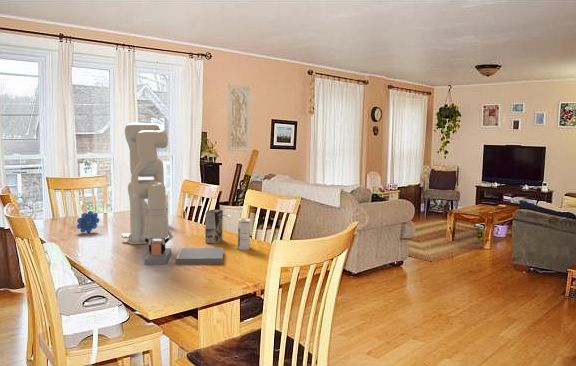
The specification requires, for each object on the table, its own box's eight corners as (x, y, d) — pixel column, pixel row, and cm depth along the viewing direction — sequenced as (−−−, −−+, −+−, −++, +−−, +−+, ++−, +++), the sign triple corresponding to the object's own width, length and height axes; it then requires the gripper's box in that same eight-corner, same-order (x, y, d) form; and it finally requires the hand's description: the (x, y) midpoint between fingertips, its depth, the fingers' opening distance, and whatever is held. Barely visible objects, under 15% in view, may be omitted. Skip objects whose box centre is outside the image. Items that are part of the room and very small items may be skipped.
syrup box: (238, 247, 230) (238, 218, 228) (250, 247, 231) (250, 218, 229) (237, 249, 224) (238, 220, 223) (250, 249, 225) (250, 220, 223)
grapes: (98, 230, 260) (98, 209, 259) (100, 232, 254) (100, 210, 253) (75, 232, 254) (75, 210, 253) (77, 234, 249) (76, 212, 247)
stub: (144, 264, 196) (144, 247, 196) (151, 253, 214) (151, 237, 213) (166, 264, 198) (165, 247, 197) (171, 253, 215) (171, 237, 215)
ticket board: (175, 264, 198) (175, 258, 198) (179, 253, 216) (179, 247, 216) (222, 263, 201) (222, 257, 200) (223, 252, 218) (223, 247, 218)
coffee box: (216, 243, 235) (217, 212, 234) (204, 242, 237) (205, 211, 235) (222, 239, 244) (223, 209, 242) (211, 238, 246) (211, 208, 244)
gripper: (135, 213, 199) (136, 255, 201) (175, 213, 201) (175, 255, 203) (138, 210, 206) (139, 251, 208) (177, 210, 208) (177, 250, 210)
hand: (157, 252), depth 206 cm, fingers closed on stub, 4 cm apart
